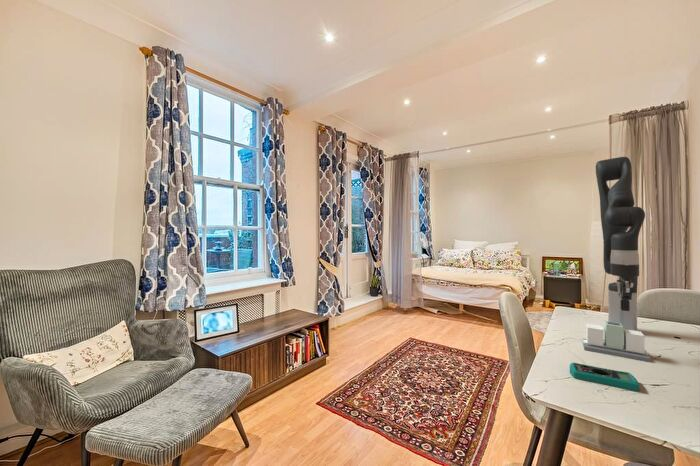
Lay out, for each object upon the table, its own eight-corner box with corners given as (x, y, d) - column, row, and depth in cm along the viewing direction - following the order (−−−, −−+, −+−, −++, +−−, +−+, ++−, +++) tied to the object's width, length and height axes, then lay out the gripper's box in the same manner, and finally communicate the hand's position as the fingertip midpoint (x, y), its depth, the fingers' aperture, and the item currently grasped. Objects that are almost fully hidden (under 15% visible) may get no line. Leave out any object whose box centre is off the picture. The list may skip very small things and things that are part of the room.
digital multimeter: (568, 369, 92) (568, 360, 92) (632, 382, 84) (632, 371, 84) (571, 379, 86) (571, 369, 86) (640, 394, 78) (640, 383, 78)
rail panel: (582, 341, 114) (582, 321, 114) (643, 352, 104) (643, 330, 104) (584, 349, 106) (584, 328, 106) (650, 362, 96) (650, 338, 96)
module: (604, 342, 109) (604, 320, 108) (620, 344, 106) (620, 322, 106) (606, 346, 104) (606, 323, 104) (623, 349, 101) (623, 326, 101)
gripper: (608, 260, 112) (608, 304, 112) (613, 263, 101) (613, 313, 101) (635, 261, 107) (635, 307, 107) (643, 265, 97) (643, 316, 97)
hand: (624, 310), depth 104 cm, fingers closed
